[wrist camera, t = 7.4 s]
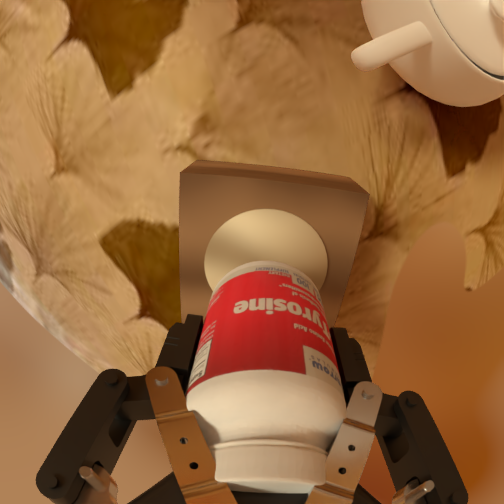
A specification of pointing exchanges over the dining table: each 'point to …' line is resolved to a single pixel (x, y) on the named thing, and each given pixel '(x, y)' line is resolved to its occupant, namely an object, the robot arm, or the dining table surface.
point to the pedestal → (266, 227)
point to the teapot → (438, 47)
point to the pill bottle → (266, 380)
